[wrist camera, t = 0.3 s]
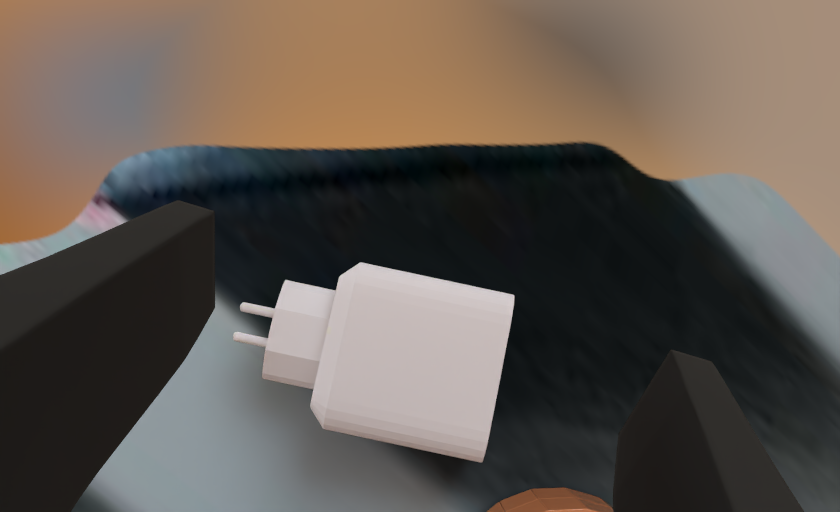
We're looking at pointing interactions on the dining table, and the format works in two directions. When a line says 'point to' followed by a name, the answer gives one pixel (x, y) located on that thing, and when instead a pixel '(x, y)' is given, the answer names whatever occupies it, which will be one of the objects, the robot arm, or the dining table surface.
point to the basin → (552, 502)
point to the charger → (392, 356)
